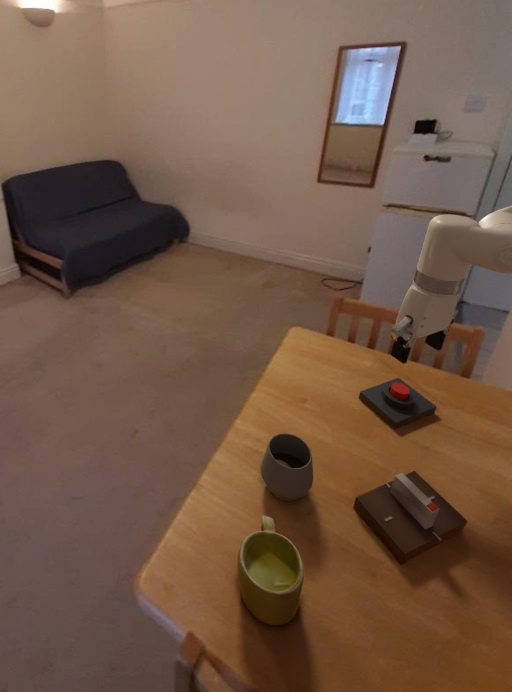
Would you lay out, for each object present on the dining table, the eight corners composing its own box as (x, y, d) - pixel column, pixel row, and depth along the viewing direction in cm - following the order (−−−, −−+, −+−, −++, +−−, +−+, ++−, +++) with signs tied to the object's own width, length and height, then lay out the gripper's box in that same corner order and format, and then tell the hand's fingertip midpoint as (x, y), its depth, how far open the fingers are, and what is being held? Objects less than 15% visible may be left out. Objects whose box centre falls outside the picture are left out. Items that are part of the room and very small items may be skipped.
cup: (257, 502, 75) (261, 466, 71) (260, 459, 83) (264, 424, 79) (311, 516, 72) (319, 479, 68) (309, 470, 80) (316, 435, 76)
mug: (311, 650, 55) (296, 587, 53) (238, 630, 59) (222, 572, 58) (316, 567, 65) (303, 514, 64) (253, 556, 70) (241, 506, 69)
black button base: (396, 384, 100) (400, 371, 98) (434, 413, 91) (439, 400, 90) (358, 398, 96) (361, 385, 95) (394, 430, 88) (398, 416, 86)
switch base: (407, 478, 78) (411, 467, 77) (466, 535, 68) (471, 523, 67) (350, 504, 74) (353, 493, 72) (404, 569, 64) (408, 557, 63)
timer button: (398, 386, 94) (399, 380, 94) (411, 397, 91) (413, 391, 91) (386, 390, 93) (387, 385, 93) (399, 401, 90) (401, 395, 90)
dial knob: (389, 492, 73) (395, 474, 70) (396, 488, 73) (402, 471, 71) (425, 529, 67) (432, 512, 65) (432, 526, 67) (440, 508, 65)
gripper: (450, 263, 82) (428, 332, 89) (386, 281, 76) (368, 353, 84) (489, 279, 75) (462, 352, 83) (423, 300, 70) (401, 376, 77)
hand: (415, 352), depth 83 cm, fingers open, 9 cm apart
